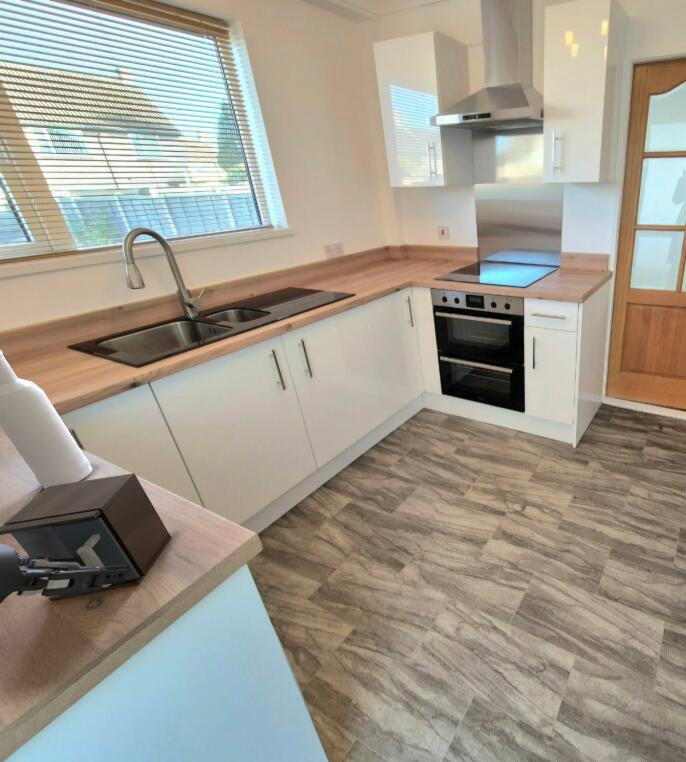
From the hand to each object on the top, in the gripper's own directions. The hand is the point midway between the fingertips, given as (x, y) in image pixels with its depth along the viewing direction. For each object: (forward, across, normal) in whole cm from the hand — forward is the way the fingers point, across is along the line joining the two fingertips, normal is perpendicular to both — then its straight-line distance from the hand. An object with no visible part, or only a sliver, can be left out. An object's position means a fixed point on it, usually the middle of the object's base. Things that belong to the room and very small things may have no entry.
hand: (103, 569), depth 61 cm
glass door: (+4, +2, +3) cm, 5 cm away
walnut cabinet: (+8, +8, +1) cm, 11 cm away
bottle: (+19, +43, -11) cm, 48 cm away
